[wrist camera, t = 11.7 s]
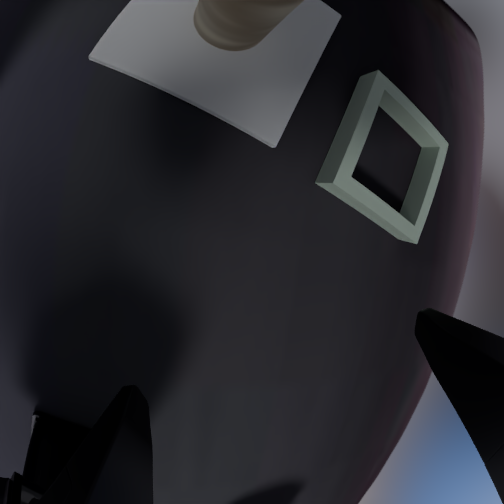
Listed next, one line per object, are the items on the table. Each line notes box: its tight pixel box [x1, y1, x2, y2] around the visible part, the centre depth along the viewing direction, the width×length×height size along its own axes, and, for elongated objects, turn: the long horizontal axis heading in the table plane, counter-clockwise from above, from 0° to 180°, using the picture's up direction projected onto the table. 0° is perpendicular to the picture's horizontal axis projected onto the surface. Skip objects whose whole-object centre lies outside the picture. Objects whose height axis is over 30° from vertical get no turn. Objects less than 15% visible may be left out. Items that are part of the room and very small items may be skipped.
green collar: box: [315, 70, 448, 244], centre depth 20 cm, size 9×9×2 cm
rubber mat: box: [88, 0, 341, 148], centre depth 15 cm, size 12×12×1 cm
